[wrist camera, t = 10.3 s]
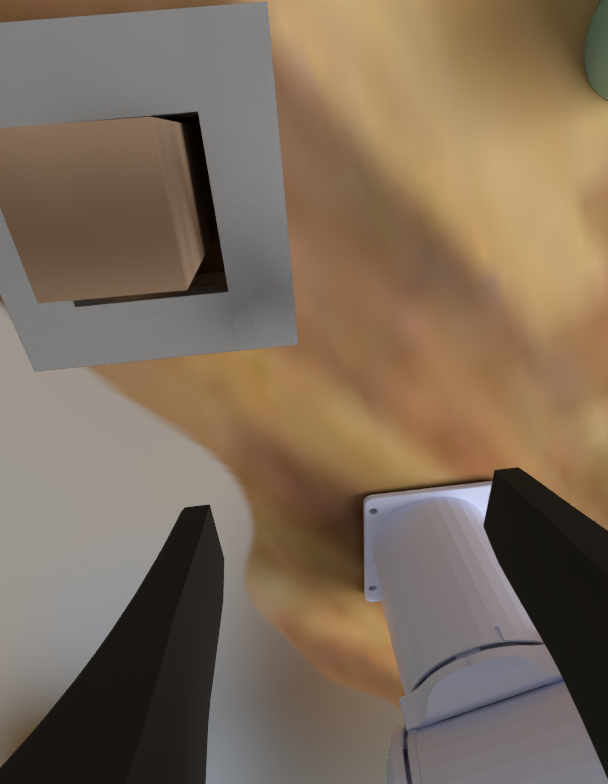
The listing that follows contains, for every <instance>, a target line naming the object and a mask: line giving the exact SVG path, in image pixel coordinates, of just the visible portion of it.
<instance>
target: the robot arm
mask: <svg viewBox="0 0 608 784" xmlns="http://www.w3.org/2000/svg"><path fill="white" fill-rule="evenodd" d="M371 509H374V510H371ZM363 512H364V595H365V599H366V600H367V601H369V602H375V601H381V603H382V607H383V611H384V615H385V618H386V622H387V626H388V630H389V634H390V638H391V642H392V646H393V650H394V654H395V658H396V662H397V666H398V670H399V674H400V678H401V682H402V685H403V688H404V691H405V694H406V695H405V696H403V697H400V699H399V702H400V706H401V710H402V715H403V719H404V723H405V724H403V725H401V726H398V727H397V728H396V729H394V731H393V733H392V736H391V740H390V747H389V750H388V753H387V758H386V781H387V784H608V531H607V530H606V529H604V528H603V527H601V526H600V525H598V524H597V523H596V522H594V521H593V520H591V519H590V518H588V517H587V516H586V515H584V514H583V513H581V512H580V511H579V510H577V509H576V508H574V507H573V506H571V505H570V504H569V503H567V502H566V501H565V500H563V499H562V498H560V497H559V496H558V495H556V494H555V493H553V492H552V491H551V490H549V489H548V488H547V487H545V486H544V485H542V484H541V483H540V482H538V481H537V480H536V479H534V478H533V477H531V476H530V475H529V474H527V473H526V472H524V471H523V470H521V469H520V468H518V467H517V468H509V469H501V470H495V471H494V476H493V481H487V482H479V483H470V484H461V485H452V486H444V487H435V488H426V489H418V490H409V491H400V492H392V493H383V494H374V495H369V496H367V497H366V498H365V499H364V502H363ZM223 587H224V557H223V553H222V550H221V546H220V542H219V538H218V534H217V531H216V527H215V523H214V519H213V516H212V512H211V508H210V505H202V506H194V507H186V508H184V509H183V510H182V511H181V513H180V515H179V517H178V519H177V521H176V523H175V525H174V527H173V529H172V531H171V533H170V535H169V537H168V539H167V541H166V542H165V544H164V546H163V548H162V550H161V551H160V553H159V555H158V557H157V559H156V560H155V562H154V564H153V565H152V567H151V569H150V570H149V572H148V574H147V575H146V577H145V579H144V581H143V582H142V584H141V586H140V587H139V589H138V591H137V592H136V594H135V595H134V597H133V599H132V600H131V602H130V603H129V604H128V606H127V608H126V609H125V611H124V612H123V614H122V615H121V617H120V618H119V620H118V621H117V623H116V624H115V626H114V627H113V629H112V630H111V632H110V633H109V635H108V636H107V637H106V639H105V640H104V642H103V643H102V645H101V646H100V647H99V649H98V650H97V651H96V653H95V654H94V656H93V657H92V658H91V660H90V661H89V662H88V664H87V665H86V666H85V667H84V669H83V670H82V672H81V673H80V674H79V675H78V677H77V678H76V679H75V681H74V682H73V683H72V684H71V686H70V687H69V688H68V689H67V690H66V692H65V693H64V694H63V696H62V697H61V698H60V699H59V701H58V702H57V703H56V704H55V706H54V707H53V708H52V709H51V710H50V712H49V713H48V714H47V715H46V716H45V718H44V719H43V720H42V721H41V722H40V724H39V725H38V726H37V727H36V728H35V729H34V731H33V732H32V733H31V734H30V735H29V736H28V738H27V739H26V740H25V741H24V742H23V743H22V745H20V746H19V748H18V749H17V750H16V751H15V752H14V753H13V755H11V756H10V758H9V759H8V760H7V761H6V762H5V763H4V764H3V765H2V766H1V767H0V784H205V781H206V759H207V758H206V757H207V737H208V736H207V735H208V719H209V709H210V698H211V690H212V683H213V675H214V668H215V660H216V652H217V644H218V637H219V629H220V621H221V613H222V605H223Z"/></svg>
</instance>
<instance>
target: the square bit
mask: <svg viewBox="0 0 608 784" xmlns="http://www.w3.org/2000/svg"><path fill="white" fill-rule="evenodd" d="M0 209H1V211H2V214H3V216H4V219H5V221H6V224H7V226H8V229H9V232H10V234H11V237H12V239H13V242H14V244H15V247H16V249H17V252H18V254H19V257H20V259H21V262H22V264H23V267H24V270H25V272H26V275H27V277H28V280H29V282H30V285H31V287H32V290H33V292H34V295H35V297H36V300H37V302H38V304H39V303H51V302H62V301H73V300H84V299H95V298H106V297H117V296H128V295H139V294H150V293H161V292H172V291H183V290H187V289H188V287H189V285H190V284H191V282H192V280H193V278H194V276H195V274H196V272H197V270H198V268H199V266H200V264H201V262H202V260H203V258H204V256H205V254H206V252H207V250H208V248H209V246H210V245H211V243H212V240H211V234H210V229H209V223H208V217H207V211H206V205H205V199H204V193H203V187H202V181H201V176H200V170H199V164H198V158H197V152H196V146H195V140H194V134H193V128H192V125H188V124H183V123H179V122H174V121H169V120H165V119H160V118H155V117H138V118H125V119H112V120H99V121H85V122H72V123H59V124H46V125H33V126H20V127H6V128H0Z"/></svg>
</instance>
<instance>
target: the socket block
mask: <svg viewBox="0 0 608 784" xmlns="http://www.w3.org/2000/svg"><path fill="white" fill-rule="evenodd" d="M138 117H155V118H160V119H165V120H175V119H186V118H198V117H199V121H200V127H201V132H202V138H203V144H204V150H205V156H206V162H207V168H208V174H209V180H210V186H211V191H212V197H213V203H214V209H215V215H216V221H217V227H218V233H219V239H220V245H221V250H222V256H223V262H224V268H225V271H220V272H210V273H200V274H195V276H194V278H193V280H192V282H191V284H190V285H189V287H188V289H187V290H183V291H172V292H161V293H150V294H139V295H128V296H117V297H106V298H95V299H84V300H73V301H62V302H51V303H39V304H38V302H37V300H36V297H35V295H34V292H33V290H32V287H31V285H30V282H29V280H28V277H27V275H26V272H25V270H24V267H23V264H22V262H21V259H20V257H19V254H18V252H17V249H16V247H15V244H14V242H13V239H12V237H11V234H10V232H9V229H8V226H7V224H6V221H5V219H4V216H3V214H2V211H1V209H0V295H1V297H2V300H3V302H4V304H5V306H6V309H7V311H8V313H9V315H10V318H11V320H12V322H13V324H14V326H15V329H16V331H17V333H18V335H19V338H20V340H21V342H22V344H23V347H24V349H25V351H26V353H27V356H28V358H29V360H30V362H31V364H32V367H33V369H34V371H35V372H37V371H46V370H56V369H66V368H76V367H85V366H95V365H105V364H114V363H124V362H134V361H143V360H153V359H162V358H172V357H182V356H191V355H201V354H211V353H220V352H230V351H240V350H249V349H259V348H268V347H278V346H288V345H297V344H298V336H297V325H296V314H295V303H294V292H293V282H292V271H291V260H290V249H289V238H288V227H287V216H286V205H285V194H284V183H283V172H282V161H281V150H280V139H279V128H278V117H277V106H276V95H275V84H274V74H273V63H272V52H271V41H270V30H269V19H268V8H267V2H254V3H242V4H229V5H217V6H204V7H191V8H179V9H166V10H154V11H141V12H129V13H116V14H104V15H91V16H78V17H66V18H53V19H41V20H28V21H16V22H3V23H0V128H6V127H20V126H33V125H46V124H59V123H72V122H85V121H99V120H112V119H125V118H138Z"/></svg>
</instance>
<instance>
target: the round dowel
mask: <svg viewBox="0 0 608 784" xmlns="http://www.w3.org/2000/svg"><path fill="white" fill-rule="evenodd" d="M584 64H585V71H586V75H587V78H588V81H589V83H590V85H591V87H592V88H593V89H594V91H595V92H596V93H597V94H598V95H599V96H600V97H602V98H604V99H605V100H608V0H601V1H600V3H599V5H598V7H597V9H596V11H595V13H594V15H593V17H592V20H591V23H590V26H589V28H588V32H587V36H586V41H585V48H584Z"/></svg>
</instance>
